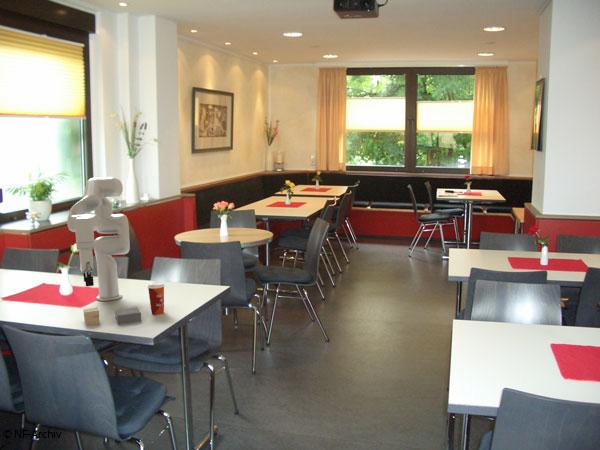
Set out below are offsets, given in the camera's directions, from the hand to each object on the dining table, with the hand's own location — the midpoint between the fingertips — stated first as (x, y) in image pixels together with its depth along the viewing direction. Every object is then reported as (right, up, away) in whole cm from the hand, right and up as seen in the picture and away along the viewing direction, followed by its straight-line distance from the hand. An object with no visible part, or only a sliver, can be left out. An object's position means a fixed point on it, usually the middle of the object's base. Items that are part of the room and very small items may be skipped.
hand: (88, 283), depth 278 cm
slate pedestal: (+16, -17, +5) cm, 24 cm away
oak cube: (+1, -18, +3) cm, 18 cm away
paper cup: (+27, -15, +14) cm, 34 cm away
